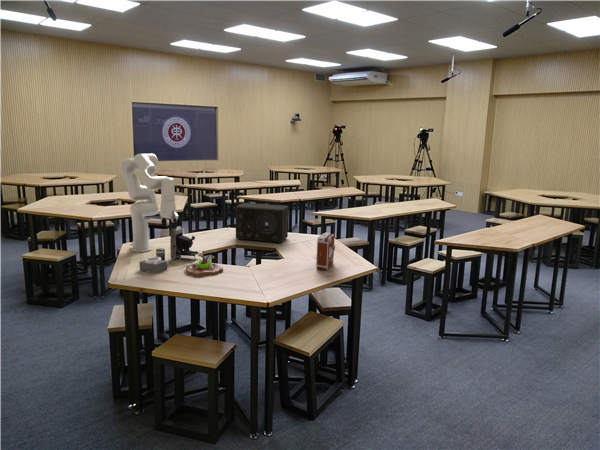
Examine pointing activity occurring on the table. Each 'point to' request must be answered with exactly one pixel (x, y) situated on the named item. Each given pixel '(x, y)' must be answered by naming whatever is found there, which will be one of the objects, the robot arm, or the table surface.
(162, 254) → the lens
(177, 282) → the table surface
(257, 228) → the vintage radio
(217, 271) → the plant
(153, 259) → the grey hollow block
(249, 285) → the table surface
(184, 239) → the vintage camera
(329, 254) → the cine camera
